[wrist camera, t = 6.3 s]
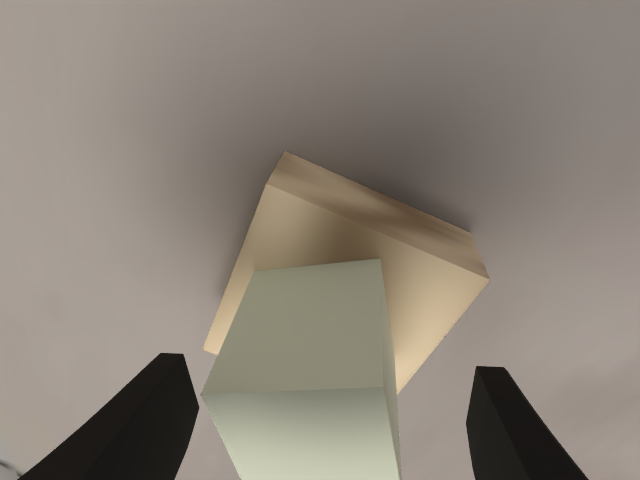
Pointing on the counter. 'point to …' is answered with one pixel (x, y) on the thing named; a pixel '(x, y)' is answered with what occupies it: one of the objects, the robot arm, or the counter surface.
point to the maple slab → (360, 254)
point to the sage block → (309, 377)
